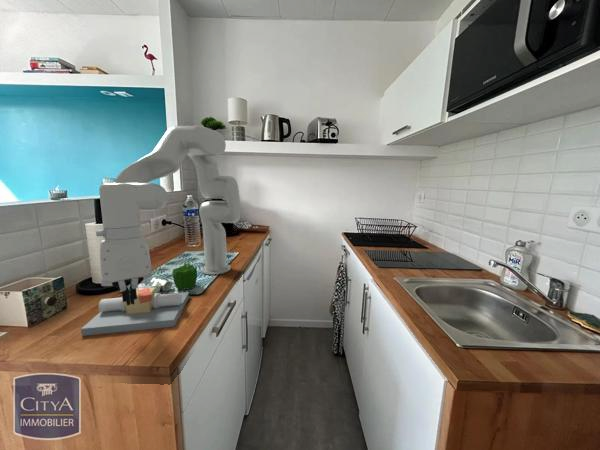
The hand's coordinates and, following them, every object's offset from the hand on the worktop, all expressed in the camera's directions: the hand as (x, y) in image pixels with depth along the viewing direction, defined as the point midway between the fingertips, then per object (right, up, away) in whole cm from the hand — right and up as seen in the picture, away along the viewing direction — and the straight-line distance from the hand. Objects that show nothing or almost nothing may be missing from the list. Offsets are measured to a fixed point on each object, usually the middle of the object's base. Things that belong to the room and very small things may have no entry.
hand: (130, 302), depth 64 cm
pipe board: (-3, -7, +11) cm, 13 cm away
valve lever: (0, 0, +5) cm, 5 cm away
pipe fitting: (-9, -4, +28) cm, 29 cm away
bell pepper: (+1, -4, +30) cm, 30 cm away
